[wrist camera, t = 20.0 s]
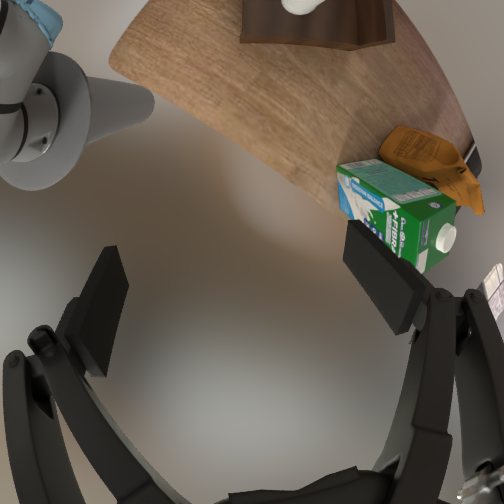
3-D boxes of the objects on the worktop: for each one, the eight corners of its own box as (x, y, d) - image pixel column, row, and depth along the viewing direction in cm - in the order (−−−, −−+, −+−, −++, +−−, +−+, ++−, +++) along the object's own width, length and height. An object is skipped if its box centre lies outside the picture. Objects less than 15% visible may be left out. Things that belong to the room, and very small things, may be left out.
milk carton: (377, 199, 54) (457, 263, 33) (339, 208, 54) (413, 282, 33) (376, 158, 49) (468, 207, 28) (335, 165, 49) (421, 221, 28)
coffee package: (399, 191, 54) (469, 240, 35) (370, 149, 48) (449, 186, 30) (426, 162, 51) (500, 200, 32) (400, 118, 46) (484, 142, 27)
